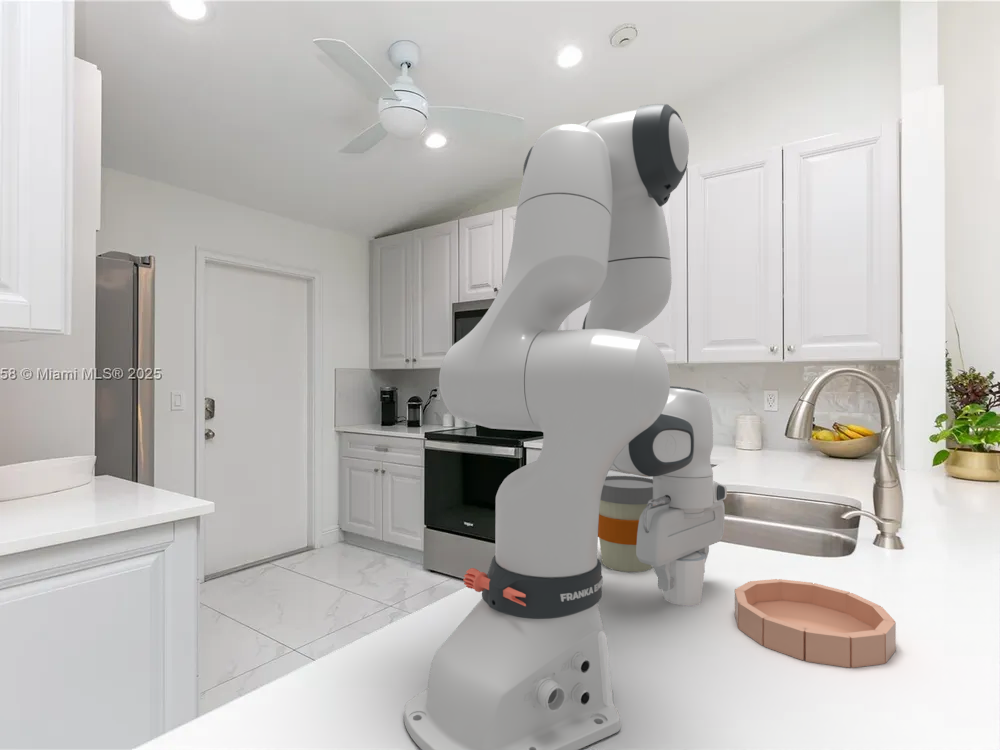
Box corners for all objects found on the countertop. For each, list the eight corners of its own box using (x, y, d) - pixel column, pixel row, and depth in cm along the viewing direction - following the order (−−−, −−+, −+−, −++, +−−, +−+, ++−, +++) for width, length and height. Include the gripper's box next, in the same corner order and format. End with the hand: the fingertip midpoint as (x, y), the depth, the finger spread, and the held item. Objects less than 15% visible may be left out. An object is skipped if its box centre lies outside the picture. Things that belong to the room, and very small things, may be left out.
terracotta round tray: (869, 684, 60) (869, 652, 60) (712, 627, 74) (712, 602, 74) (908, 633, 72) (908, 607, 72) (767, 593, 86) (767, 570, 86)
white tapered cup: (709, 609, 80) (709, 562, 80) (661, 605, 81) (661, 558, 81) (701, 591, 86) (702, 547, 86) (657, 588, 88) (657, 545, 88)
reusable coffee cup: (677, 566, 98) (677, 483, 98) (629, 581, 91) (629, 491, 91) (624, 548, 108) (625, 473, 108) (578, 560, 101) (578, 479, 101)
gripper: (664, 505, 75) (663, 606, 74) (732, 486, 88) (731, 571, 88) (625, 497, 79) (625, 592, 79) (695, 480, 93) (695, 561, 93)
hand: (682, 581), depth 84 cm, fingers open, 8 cm apart
